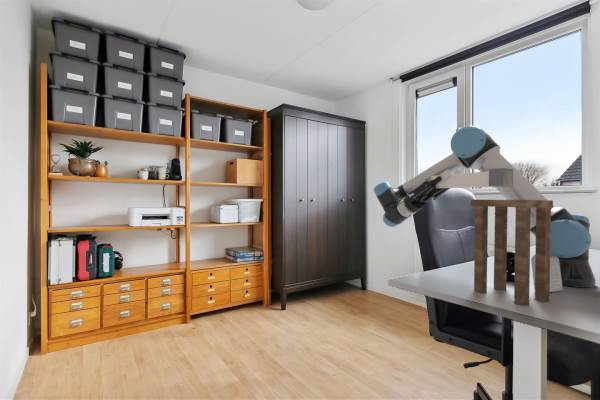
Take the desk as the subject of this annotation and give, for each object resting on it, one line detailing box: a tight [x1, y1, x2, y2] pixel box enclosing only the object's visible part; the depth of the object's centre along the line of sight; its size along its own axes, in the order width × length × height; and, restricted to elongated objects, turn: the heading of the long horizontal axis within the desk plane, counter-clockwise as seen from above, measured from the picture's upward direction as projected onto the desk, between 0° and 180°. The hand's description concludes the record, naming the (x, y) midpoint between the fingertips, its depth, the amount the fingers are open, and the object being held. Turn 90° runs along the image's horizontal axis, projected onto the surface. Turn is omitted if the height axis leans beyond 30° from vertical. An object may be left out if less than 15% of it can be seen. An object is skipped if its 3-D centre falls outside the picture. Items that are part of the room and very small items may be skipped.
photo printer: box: [530, 254, 563, 293], centre depth 98 cm, size 10×4×12 cm, turn 118°
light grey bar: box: [431, 168, 513, 189], centre depth 104 cm, size 5×27×5 cm, turn 24°
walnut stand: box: [470, 199, 554, 307], centre depth 91 cm, size 12×16×28 cm
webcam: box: [506, 250, 515, 283], centre depth 110 cm, size 8×8×10 cm
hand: (454, 173), depth 109 cm, fingers closed on light grey bar, 4 cm apart
